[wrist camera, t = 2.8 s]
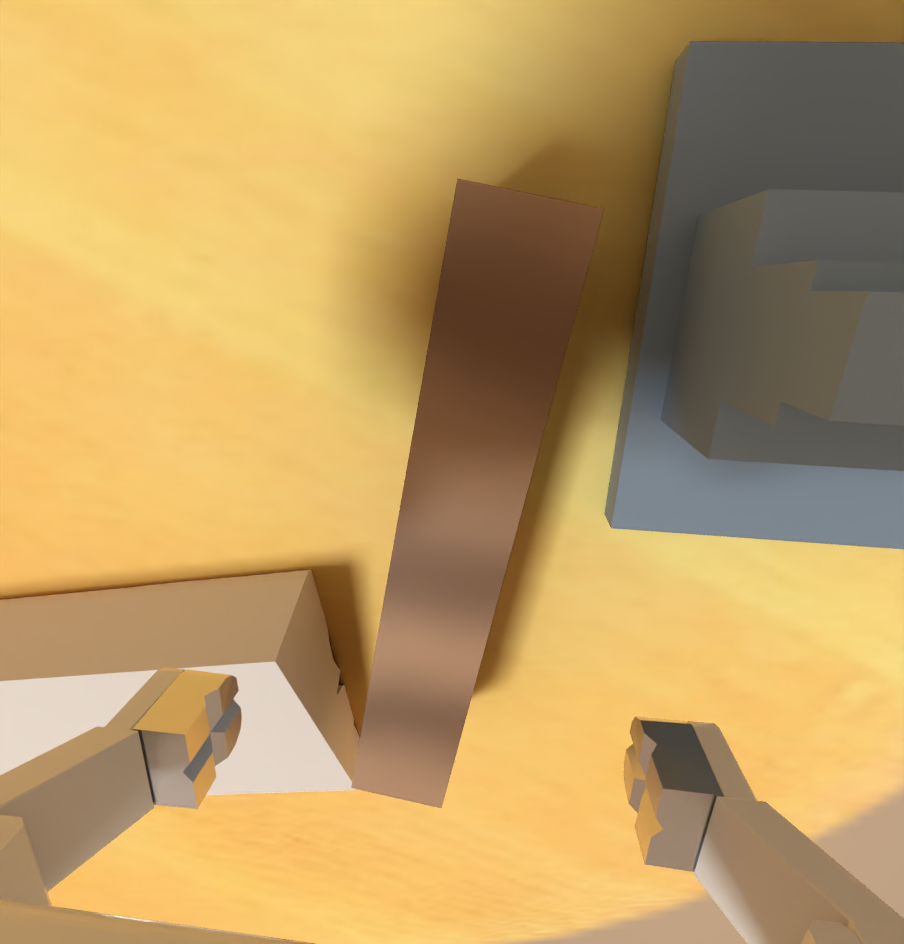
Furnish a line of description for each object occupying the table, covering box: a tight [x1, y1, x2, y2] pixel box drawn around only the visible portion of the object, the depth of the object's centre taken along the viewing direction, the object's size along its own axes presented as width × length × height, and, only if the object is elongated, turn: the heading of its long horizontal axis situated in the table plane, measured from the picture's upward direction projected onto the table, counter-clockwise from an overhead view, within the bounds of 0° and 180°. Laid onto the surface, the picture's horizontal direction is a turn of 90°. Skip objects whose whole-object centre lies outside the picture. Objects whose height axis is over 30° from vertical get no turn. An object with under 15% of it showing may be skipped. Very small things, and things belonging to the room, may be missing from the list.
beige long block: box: [0, 570, 360, 795], centre depth 24 cm, size 34×5×10 cm
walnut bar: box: [351, 179, 604, 808], centre depth 17 cm, size 20×3×5 cm, turn 169°
